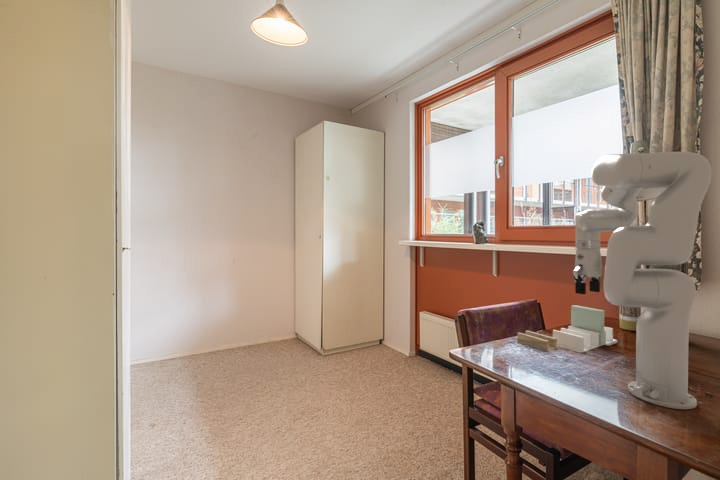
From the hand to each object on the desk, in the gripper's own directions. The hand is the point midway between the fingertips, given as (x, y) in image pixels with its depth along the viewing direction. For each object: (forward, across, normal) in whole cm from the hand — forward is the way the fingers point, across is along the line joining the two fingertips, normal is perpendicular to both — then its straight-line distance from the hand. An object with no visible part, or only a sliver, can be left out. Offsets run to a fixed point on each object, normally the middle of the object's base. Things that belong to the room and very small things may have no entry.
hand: (587, 292), depth 120 cm
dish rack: (+19, -2, +1) cm, 19 cm away
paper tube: (+18, +35, +1) cm, 40 cm away
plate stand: (+19, -19, +8) cm, 28 cm away
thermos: (+19, +33, -11) cm, 40 cm away
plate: (+18, 0, 0) cm, 18 cm away
